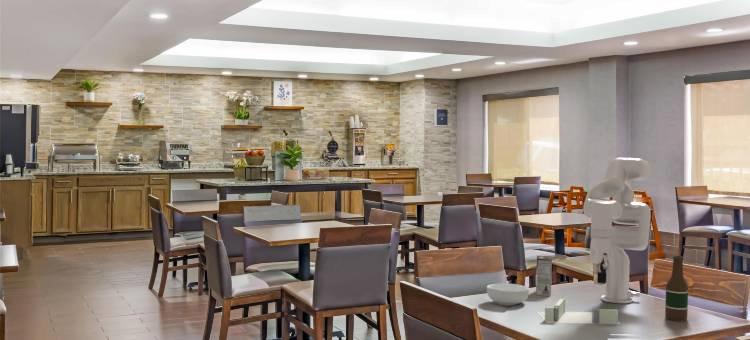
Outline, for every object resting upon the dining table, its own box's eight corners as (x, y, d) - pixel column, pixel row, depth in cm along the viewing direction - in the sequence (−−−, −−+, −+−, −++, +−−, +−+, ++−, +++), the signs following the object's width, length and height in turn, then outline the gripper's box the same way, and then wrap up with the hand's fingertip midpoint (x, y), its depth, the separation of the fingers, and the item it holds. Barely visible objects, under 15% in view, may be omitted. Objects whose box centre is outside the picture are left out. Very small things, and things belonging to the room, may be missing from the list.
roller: (603, 282, 272) (603, 261, 272) (607, 284, 267) (607, 263, 267) (591, 282, 272) (592, 261, 271) (595, 284, 267) (596, 263, 267)
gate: (559, 319, 262) (559, 305, 262) (553, 318, 263) (554, 305, 262) (565, 311, 274) (565, 298, 274) (559, 310, 275) (560, 298, 275)
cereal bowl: (536, 304, 290) (536, 287, 290) (514, 310, 278) (514, 293, 278) (500, 297, 302) (501, 281, 301) (478, 303, 289) (478, 286, 289)
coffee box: (535, 291, 315) (536, 255, 315) (550, 291, 314) (551, 256, 313) (536, 295, 306) (537, 258, 306) (551, 296, 305) (552, 259, 304)
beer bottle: (686, 317, 271) (688, 255, 270) (688, 322, 264) (690, 258, 263) (664, 315, 274) (666, 254, 273) (665, 320, 266) (667, 257, 265)
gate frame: (605, 313, 275) (605, 300, 275) (621, 325, 258) (621, 310, 258) (536, 313, 274) (536, 299, 274) (547, 324, 257) (547, 309, 257)
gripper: (584, 231, 277) (582, 277, 278) (598, 236, 260) (597, 285, 261) (603, 231, 277) (601, 277, 278) (618, 237, 261) (617, 286, 261)
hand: (599, 281), depth 270 cm, fingers closed on roller, 4 cm apart
